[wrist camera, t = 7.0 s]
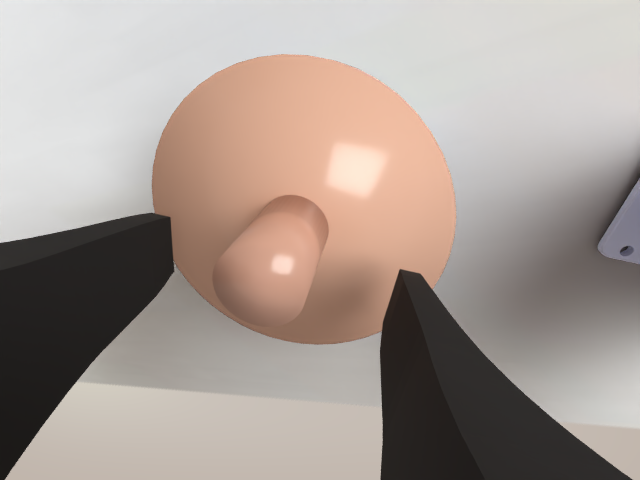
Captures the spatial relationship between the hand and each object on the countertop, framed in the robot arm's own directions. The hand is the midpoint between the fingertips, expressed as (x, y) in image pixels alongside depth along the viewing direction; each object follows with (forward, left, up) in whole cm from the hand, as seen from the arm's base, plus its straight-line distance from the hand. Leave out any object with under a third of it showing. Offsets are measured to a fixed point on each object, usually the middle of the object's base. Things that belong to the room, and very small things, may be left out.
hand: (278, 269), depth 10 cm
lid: (0, -1, -2) cm, 2 cm away
